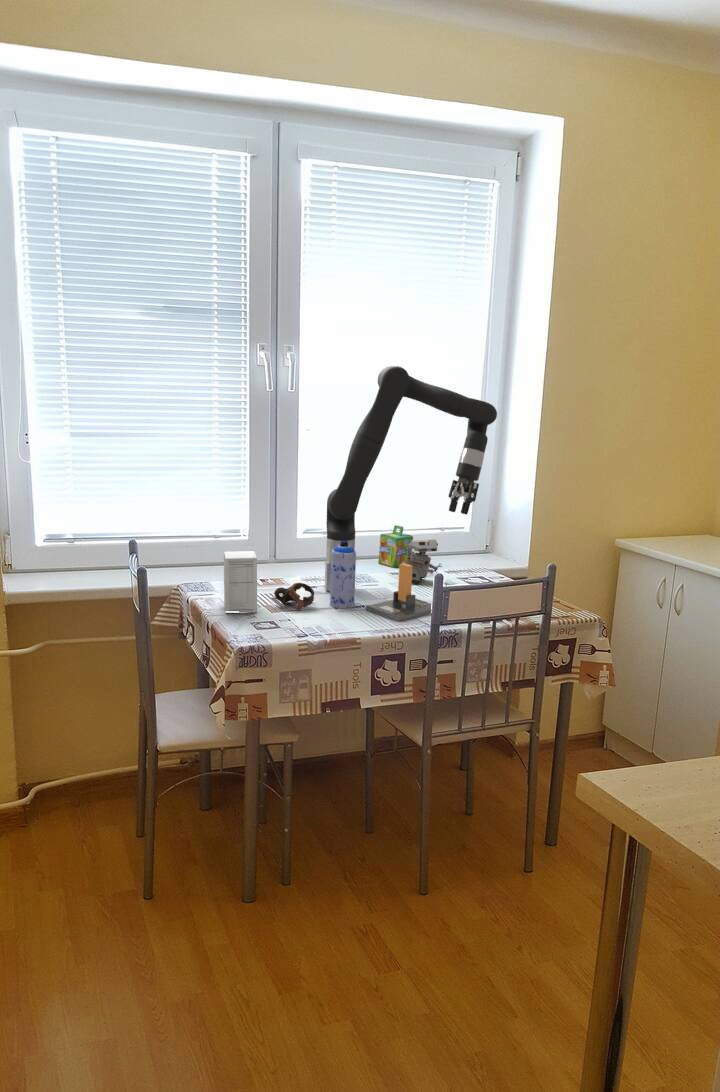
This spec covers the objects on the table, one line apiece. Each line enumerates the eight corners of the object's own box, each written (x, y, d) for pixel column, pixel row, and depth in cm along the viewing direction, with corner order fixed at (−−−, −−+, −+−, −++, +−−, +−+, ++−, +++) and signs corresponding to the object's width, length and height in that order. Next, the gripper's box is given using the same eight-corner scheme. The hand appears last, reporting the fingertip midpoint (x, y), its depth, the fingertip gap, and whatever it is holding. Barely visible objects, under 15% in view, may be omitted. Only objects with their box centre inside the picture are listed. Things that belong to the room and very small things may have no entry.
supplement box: (255, 604, 245) (255, 550, 241) (257, 613, 236) (258, 557, 232) (223, 605, 243) (223, 550, 239) (224, 614, 234) (224, 557, 230)
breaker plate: (408, 601, 255) (409, 584, 254) (440, 611, 245) (442, 594, 244) (366, 610, 243) (366, 592, 242) (398, 621, 233) (399, 603, 232)
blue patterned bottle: (357, 602, 251) (360, 539, 247) (351, 609, 244) (353, 544, 239) (333, 600, 253) (335, 537, 249) (326, 606, 245) (328, 542, 241)
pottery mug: (305, 602, 251) (315, 582, 247) (308, 623, 244) (318, 603, 240) (269, 594, 247) (278, 574, 243) (271, 615, 240) (280, 595, 236)
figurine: (436, 586, 274) (438, 543, 271) (403, 583, 277) (405, 540, 274) (440, 580, 282) (443, 538, 279) (408, 577, 285) (410, 535, 282)
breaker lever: (402, 602, 245) (403, 563, 243) (410, 604, 243) (412, 565, 240) (397, 603, 244) (399, 563, 242) (406, 606, 241) (408, 566, 239)
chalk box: (377, 563, 304) (379, 525, 301) (395, 560, 310) (396, 523, 307) (395, 568, 298) (397, 529, 295) (412, 565, 304) (414, 526, 301)
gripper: (450, 460, 266) (438, 508, 266) (470, 461, 252) (457, 511, 253) (469, 466, 268) (457, 513, 269) (491, 467, 255) (478, 517, 256)
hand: (457, 512), depth 261 cm, fingers open, 8 cm apart
